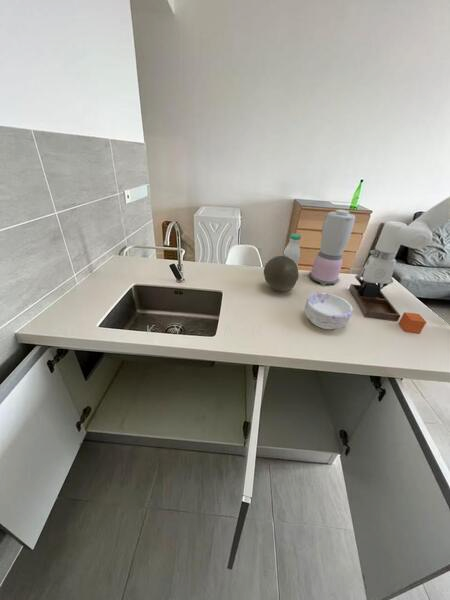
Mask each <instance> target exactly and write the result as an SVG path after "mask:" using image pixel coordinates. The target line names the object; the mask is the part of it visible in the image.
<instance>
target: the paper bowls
mask: <svg viewBox="0 0 450 600" xmlns="http://www.w3.org/2000/svg"><path fill="white" fill-rule="evenodd" d="M303 312H304V315H305V316H306V318H307V319H308V320H309V321H310V322H311V323H312V324H313V325H314V326H316V327H317V328H320V329H324V330H335V329H338V328H344V327H345V326H347V325H348V324H349V322H350V320H351V318H352V315H353V313H354V308H353V306H352V304H351V303H350V302H349V301H347V300H346V299H344V298H343V297H341V296H339V295H336V294H333V293H328V292H314V293H312V294H311V293H310V295H308V297H307V298H306V301H305V305H304V309H303Z"/></svg>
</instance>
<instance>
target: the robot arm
mask: <svg viewBox="0 0 450 600" xmlns="http://www.w3.org/2000/svg"><path fill="white" fill-rule="evenodd" d="M449 222H450V195H449V196H448V197H446V198H445V199H443V200H441V201H440V202H439V203H437V204H435V205H434V206H432V207H430V208H429V209H427V210H426V211H425V212H423V213H422V214H421V215H419V216H418V217H417V218H416V219H414V220H413V221H412V222H411V223H410V224H408V225H407V223H405V222H402V221H396V220H388V221H386V222H385V223H384V225H383V227H382V230H381V233H380V235H379V236H378V237H379V238H378V240H377V243H376V244H375V247H374V249H370V251H369V254H371V255H370V256H369V257H368V258H367V260H366V262H365V263H364V266H363V267H362V270H361V272H359V273H357V274H356V275H354V279H356V281H357V282H358V283H359V285H360V287H359V290H358V292H359V293H360V295H363V293H364V290H365V285H366V284H367V283H368V282H372V283H376V284H377V285H378V287H379V288H380V289H379V292H380V290H381V291H382V290H383V289H384V288H385V287H386V286H388V285H391V284H393V283H394V279H393V274H394V271H395V267H396V263H397V260H396V256H397V254H398V251H399V249H400V247H401V246H404V247H407V248H410V249H415V250H419V249H424V248H426V247H428V246H429V245H430V244H431V243H432V241H433V238H434V235H433V232H434V231H436V230H437V229H440V227H442V226H443V225H445V224H447V223H449ZM379 292H378V294H379ZM378 294H377V295H378ZM376 297H377V296H376Z"/></svg>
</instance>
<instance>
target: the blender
mask: <svg viewBox="0 0 450 600" xmlns="http://www.w3.org/2000/svg"><path fill="white" fill-rule="evenodd" d="M355 220H356V215H355V214H353V213H350V211H349V210H346V209H336V210H335V211H329V212H328V213H327V215H326V216H325V217H324V220H323V224H322V228H321V233H320V234H321V238H320V248H319V252H318V253H317V254H316V255H315V257H314V259H313V264H312V266H311V267H312V268H311V272H310V276H309V277H310V278H311V279H312V280H314V281H315V282H318V283H320V286H324V287H325V286H327V285H334V286H335V285H336V284H337V283H338V279H339V275H340V272H341V269H342V266H343V258H342V257H343V253H344V251H345V249H346V247H347V245H348V243H349V241H350V238H351V236H352V232H353V229H354V224H355Z"/></svg>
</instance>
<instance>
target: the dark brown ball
mask: <svg viewBox="0 0 450 600" xmlns="http://www.w3.org/2000/svg"><path fill="white" fill-rule="evenodd" d="M263 276H264V280H265V282H266V283H267V285H268V286H270V288H271V289H273V290H275V291H279V292H287V291H290V290H292V289H293V288H294V287H295V286H296V284H297V282H298V279H299V269H298V267H297V265H296V263H295V262H294V261H293V260H292V259H290V258H288V257H285V256H283V255H277V256H274V257H272V258H270V259H269V260H268V261H267V262H266V263H265V265H264V268H263Z"/></svg>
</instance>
